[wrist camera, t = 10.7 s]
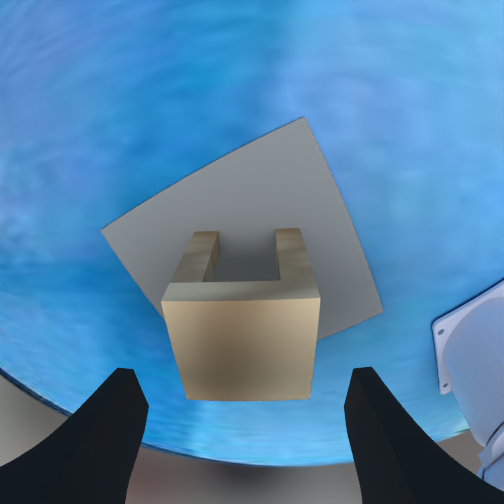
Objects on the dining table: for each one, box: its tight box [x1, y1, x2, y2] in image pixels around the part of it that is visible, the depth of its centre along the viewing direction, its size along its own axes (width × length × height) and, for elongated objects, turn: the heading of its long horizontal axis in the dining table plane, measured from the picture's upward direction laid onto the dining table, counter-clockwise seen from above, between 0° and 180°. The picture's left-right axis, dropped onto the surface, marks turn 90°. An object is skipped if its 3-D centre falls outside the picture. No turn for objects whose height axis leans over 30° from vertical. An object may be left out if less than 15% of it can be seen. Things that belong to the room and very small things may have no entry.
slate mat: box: [101, 117, 384, 340], centre depth 17 cm, size 12×12×1 cm
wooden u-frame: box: [161, 228, 320, 401], centre depth 14 cm, size 5×5×6 cm
